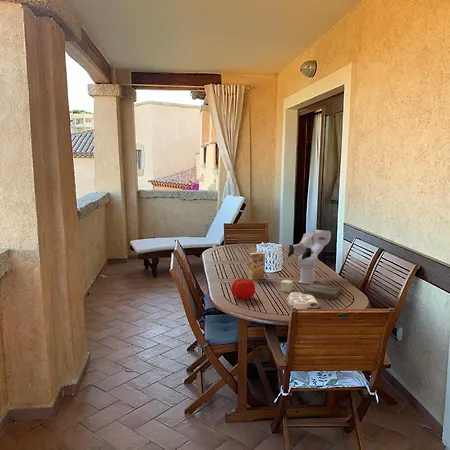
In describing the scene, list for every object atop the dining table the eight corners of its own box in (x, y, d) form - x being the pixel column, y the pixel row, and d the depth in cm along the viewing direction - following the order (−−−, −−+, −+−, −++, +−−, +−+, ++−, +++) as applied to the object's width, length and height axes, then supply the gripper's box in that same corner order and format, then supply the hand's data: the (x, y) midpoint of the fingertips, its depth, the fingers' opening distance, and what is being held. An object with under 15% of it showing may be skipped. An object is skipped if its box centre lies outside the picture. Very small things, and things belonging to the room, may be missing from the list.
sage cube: (283, 288, 222) (284, 279, 222) (292, 289, 220) (293, 281, 220) (280, 290, 218) (281, 281, 217) (289, 292, 216) (290, 283, 215)
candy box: (251, 280, 237) (252, 254, 235) (248, 278, 241) (248, 252, 239) (264, 278, 241) (265, 253, 239) (261, 276, 245) (261, 251, 242)
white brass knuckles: (320, 311, 190) (289, 310, 189) (312, 298, 207) (283, 298, 207) (321, 304, 189) (289, 303, 189) (312, 292, 207) (283, 291, 207)
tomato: (253, 294, 210) (254, 275, 209) (256, 301, 199) (256, 281, 198) (230, 294, 210) (230, 274, 208) (231, 301, 199) (232, 281, 197)
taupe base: (311, 286, 226) (311, 282, 226) (340, 291, 219) (341, 287, 219) (303, 294, 212) (303, 290, 212) (334, 299, 205) (334, 295, 205)
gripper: (291, 237, 227) (282, 247, 217) (317, 241, 221) (309, 252, 210) (291, 248, 230) (282, 259, 219) (316, 252, 223) (308, 264, 213)
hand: (295, 256), depth 215 cm, fingers open, 7 cm apart
